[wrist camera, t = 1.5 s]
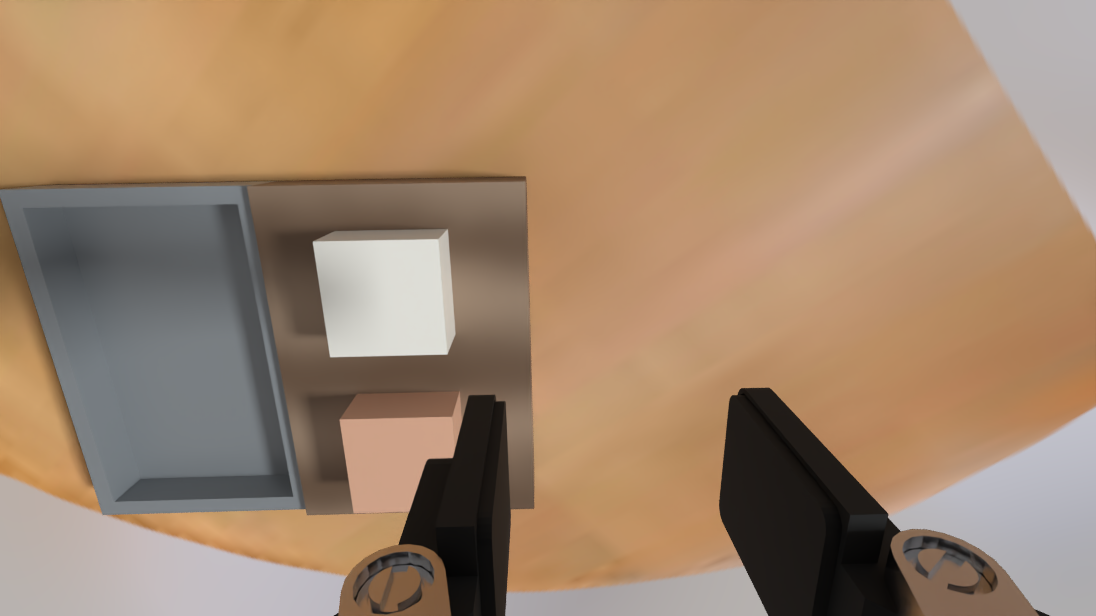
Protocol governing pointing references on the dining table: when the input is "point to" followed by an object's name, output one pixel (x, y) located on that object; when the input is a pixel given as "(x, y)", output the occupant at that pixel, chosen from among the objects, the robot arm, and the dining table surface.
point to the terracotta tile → (396, 444)
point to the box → (161, 342)
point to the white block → (386, 292)
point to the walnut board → (469, 367)
